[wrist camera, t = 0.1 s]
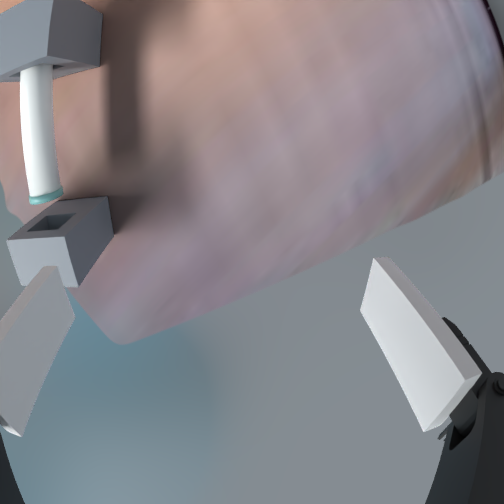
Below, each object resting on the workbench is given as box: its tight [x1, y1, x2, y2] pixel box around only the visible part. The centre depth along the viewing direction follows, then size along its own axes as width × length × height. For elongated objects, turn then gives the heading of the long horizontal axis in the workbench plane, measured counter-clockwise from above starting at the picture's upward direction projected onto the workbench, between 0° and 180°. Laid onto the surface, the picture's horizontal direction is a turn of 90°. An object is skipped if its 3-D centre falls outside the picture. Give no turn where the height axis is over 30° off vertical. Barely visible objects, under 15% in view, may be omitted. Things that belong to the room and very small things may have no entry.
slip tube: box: [20, 63, 63, 205], centre depth 21 cm, size 25×4×4 cm, turn 179°
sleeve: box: [0, 0, 103, 82], centre depth 20 cm, size 8×9×13 cm
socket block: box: [6, 196, 114, 287], centre depth 31 cm, size 6×9×13 cm, turn 89°
